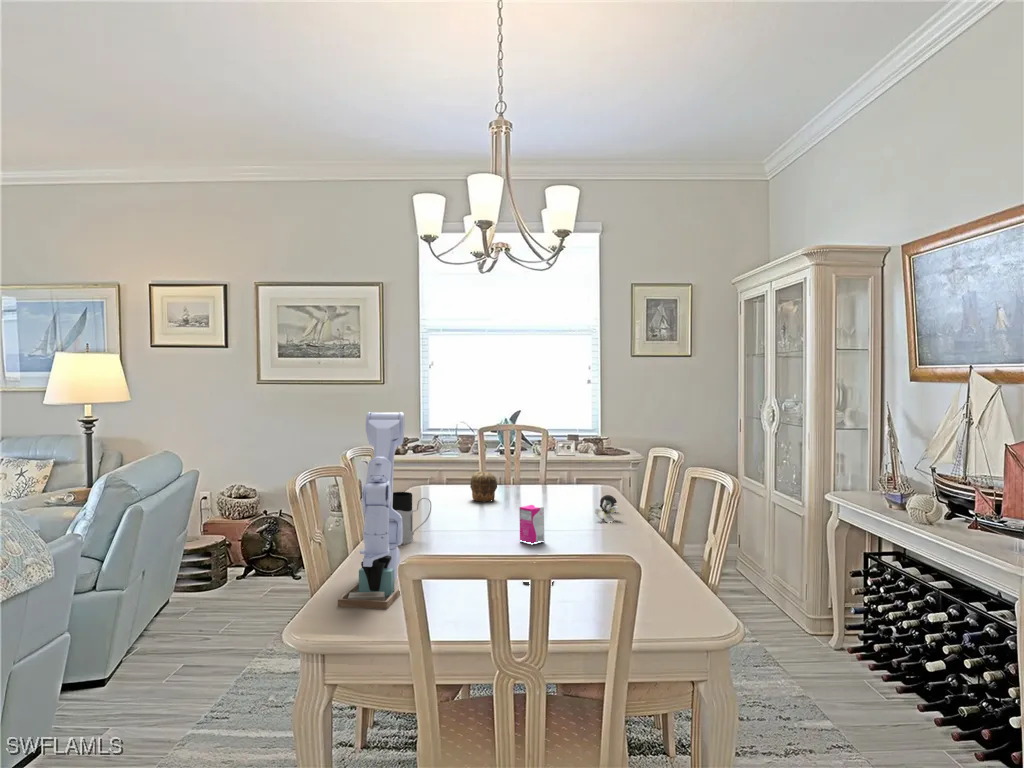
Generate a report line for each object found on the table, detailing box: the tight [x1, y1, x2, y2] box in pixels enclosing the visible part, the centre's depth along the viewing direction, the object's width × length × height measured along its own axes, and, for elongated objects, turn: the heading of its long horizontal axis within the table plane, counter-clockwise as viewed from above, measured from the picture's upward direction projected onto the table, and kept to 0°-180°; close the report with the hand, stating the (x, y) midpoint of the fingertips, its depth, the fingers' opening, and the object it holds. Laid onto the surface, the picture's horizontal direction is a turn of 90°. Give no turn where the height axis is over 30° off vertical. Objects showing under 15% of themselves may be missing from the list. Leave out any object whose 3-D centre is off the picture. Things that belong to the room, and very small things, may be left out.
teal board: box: [358, 567, 395, 597], centre depth 184 cm, size 2×8×7 cm, turn 82°
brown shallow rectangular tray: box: [337, 581, 401, 610], centre depth 180 cm, size 14×12×3 cm
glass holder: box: [392, 491, 432, 545], centre depth 244 cm, size 9×14×15 cm, turn 95°
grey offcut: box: [348, 591, 386, 601], centre depth 177 cm, size 4×8×2 cm, turn 97°
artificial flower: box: [594, 494, 620, 523], centre depth 284 cm, size 9×22×10 cm, turn 165°
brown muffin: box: [469, 471, 498, 502], centre depth 314 cm, size 11×11×12 cm
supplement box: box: [519, 504, 545, 543], centre depth 243 cm, size 6×6×12 cm
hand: (376, 588), depth 184 cm, fingers closed on teal board, 2 cm apart
